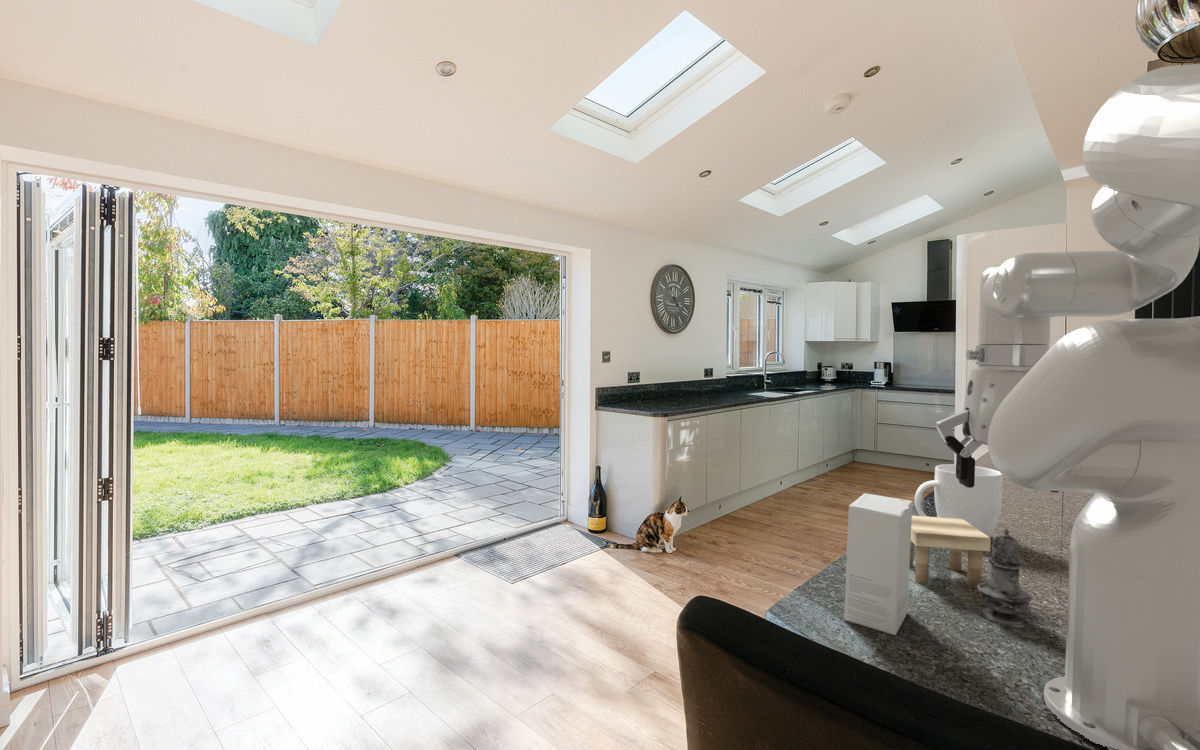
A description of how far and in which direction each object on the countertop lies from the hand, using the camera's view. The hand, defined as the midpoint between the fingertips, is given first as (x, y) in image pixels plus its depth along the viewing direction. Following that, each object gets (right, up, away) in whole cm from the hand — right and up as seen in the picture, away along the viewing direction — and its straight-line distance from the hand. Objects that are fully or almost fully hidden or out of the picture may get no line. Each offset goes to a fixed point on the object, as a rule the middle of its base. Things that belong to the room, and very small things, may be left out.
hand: (1006, 487), depth 73 cm
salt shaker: (0, -18, 0) cm, 18 cm away
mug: (+16, -17, +34) cm, 42 cm away
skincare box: (-17, -18, 0) cm, 25 cm away
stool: (0, -17, +15) cm, 23 cm away
